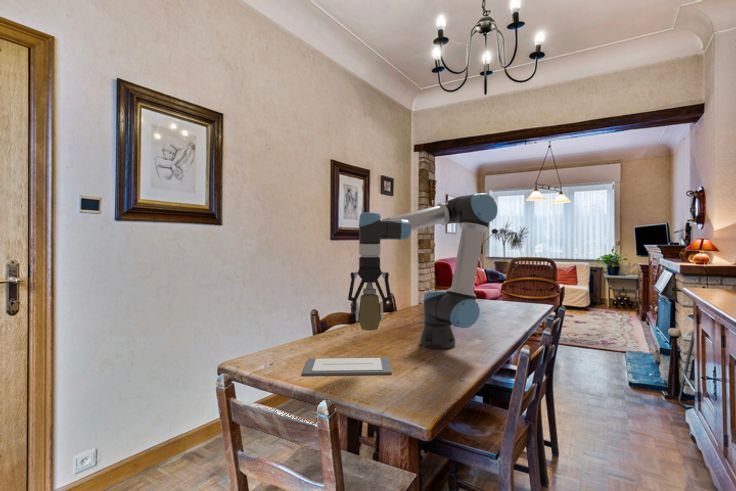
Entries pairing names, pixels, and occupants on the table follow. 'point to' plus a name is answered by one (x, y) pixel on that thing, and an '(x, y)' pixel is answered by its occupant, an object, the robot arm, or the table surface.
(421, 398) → the table surface
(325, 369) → the writing board
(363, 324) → the squeeze bottle
